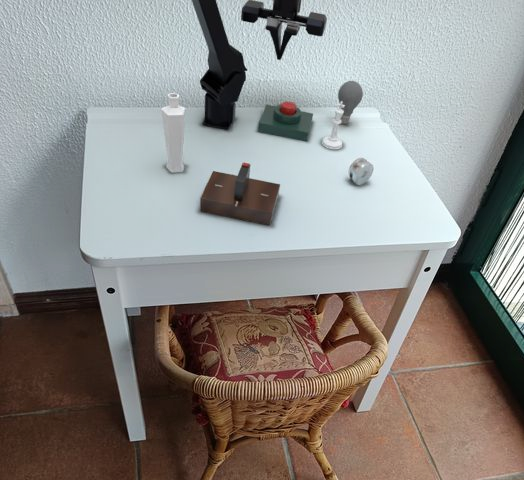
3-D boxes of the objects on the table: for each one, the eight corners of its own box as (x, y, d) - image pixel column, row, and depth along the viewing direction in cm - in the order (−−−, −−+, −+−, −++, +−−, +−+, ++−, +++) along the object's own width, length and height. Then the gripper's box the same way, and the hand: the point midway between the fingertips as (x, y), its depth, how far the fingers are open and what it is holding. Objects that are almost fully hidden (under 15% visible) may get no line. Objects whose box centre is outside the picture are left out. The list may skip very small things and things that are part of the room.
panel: (199, 212, 95) (199, 198, 93) (213, 182, 102) (213, 169, 99) (269, 226, 95) (271, 213, 92) (278, 196, 101) (280, 182, 99)
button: (279, 114, 116) (280, 106, 115) (281, 107, 118) (282, 100, 117) (293, 117, 116) (295, 109, 115) (296, 110, 118) (297, 103, 117)
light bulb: (346, 131, 122) (356, 89, 114) (327, 121, 124) (336, 80, 116) (359, 124, 125) (370, 83, 117) (341, 114, 127) (350, 74, 120)
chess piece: (340, 151, 116) (351, 108, 108) (320, 147, 116) (329, 104, 108) (342, 141, 119) (353, 99, 111) (323, 137, 119) (332, 95, 111)
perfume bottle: (166, 160, 105) (162, 88, 93) (186, 163, 105) (185, 91, 94) (162, 172, 102) (158, 99, 90) (183, 174, 102) (182, 102, 91)
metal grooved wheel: (352, 187, 106) (358, 166, 103) (344, 180, 108) (350, 159, 104) (369, 182, 109) (376, 161, 105) (361, 175, 110) (367, 154, 106)
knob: (242, 200, 94) (243, 181, 90) (233, 199, 94) (235, 179, 90) (248, 182, 98) (250, 163, 95) (241, 181, 98) (242, 161, 95)
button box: (258, 131, 117) (259, 115, 114) (265, 112, 123) (267, 96, 120) (306, 141, 117) (309, 125, 114) (311, 122, 123) (314, 106, 120)
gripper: (336, -22, 108) (322, 54, 120) (254, -38, 109) (248, 39, 121) (330, -8, 101) (315, 72, 113) (243, -25, 102) (238, 56, 114)
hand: (279, 59), depth 116 cm, fingers closed
